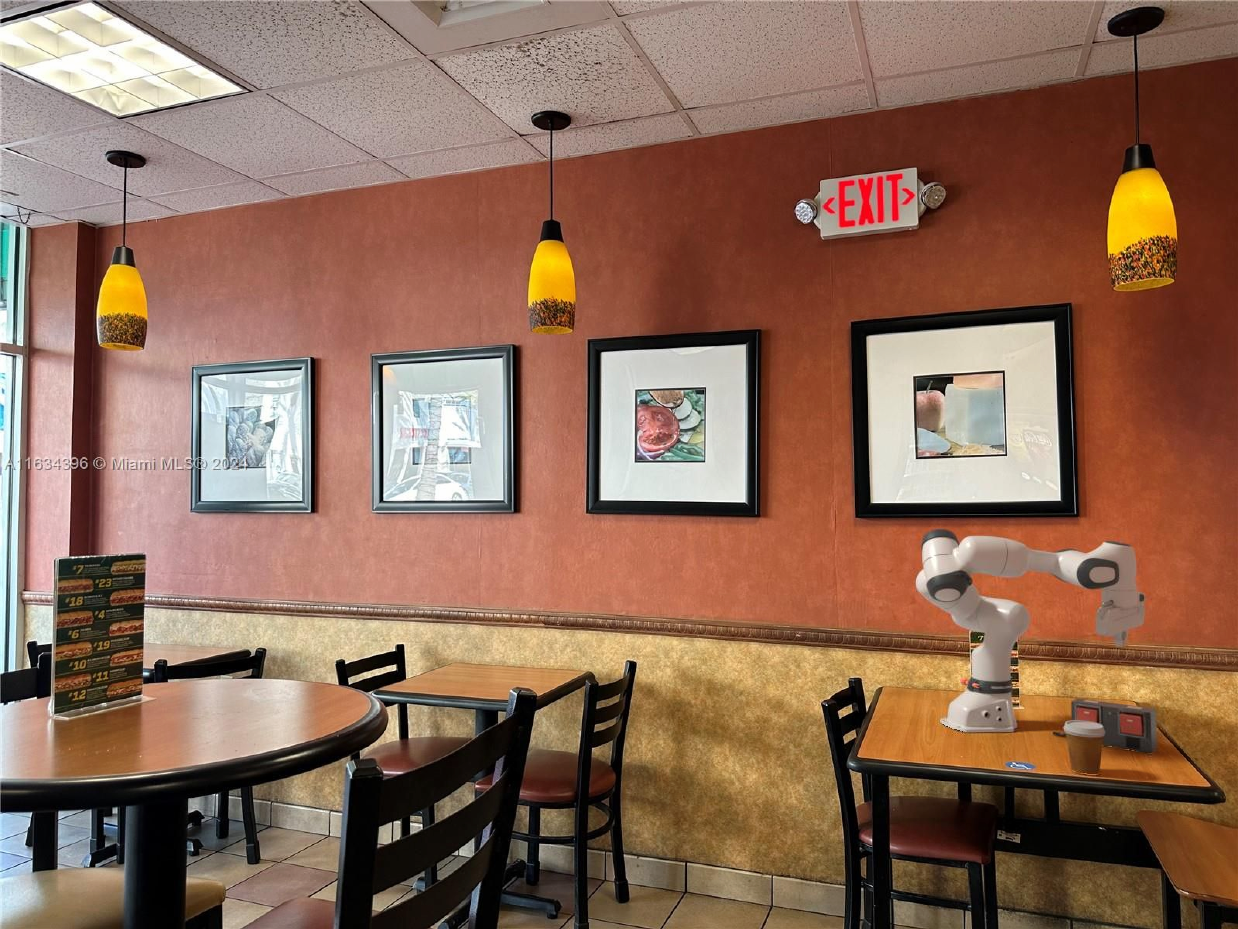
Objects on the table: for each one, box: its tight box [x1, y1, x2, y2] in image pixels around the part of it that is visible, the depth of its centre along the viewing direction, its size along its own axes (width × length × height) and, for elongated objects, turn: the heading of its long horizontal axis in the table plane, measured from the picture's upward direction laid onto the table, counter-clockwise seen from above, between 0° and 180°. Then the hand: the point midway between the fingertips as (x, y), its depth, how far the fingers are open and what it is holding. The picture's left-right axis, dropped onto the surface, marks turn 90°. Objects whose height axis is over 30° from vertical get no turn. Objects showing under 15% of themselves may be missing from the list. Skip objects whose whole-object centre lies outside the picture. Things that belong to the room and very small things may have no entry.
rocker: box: [1077, 707, 1098, 723], centre depth 247 cm, size 5×1×5 cm, turn 47°
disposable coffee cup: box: [1062, 719, 1105, 774], centre depth 223 cm, size 10×10×12 cm
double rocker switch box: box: [1052, 697, 1158, 754], centre depth 248 cm, size 26×7×11 cm, turn 47°
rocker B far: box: [1119, 714, 1143, 736], centre depth 240 cm, size 5×1×5 cm, turn 47°
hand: (1120, 646), depth 249 cm, fingers closed
